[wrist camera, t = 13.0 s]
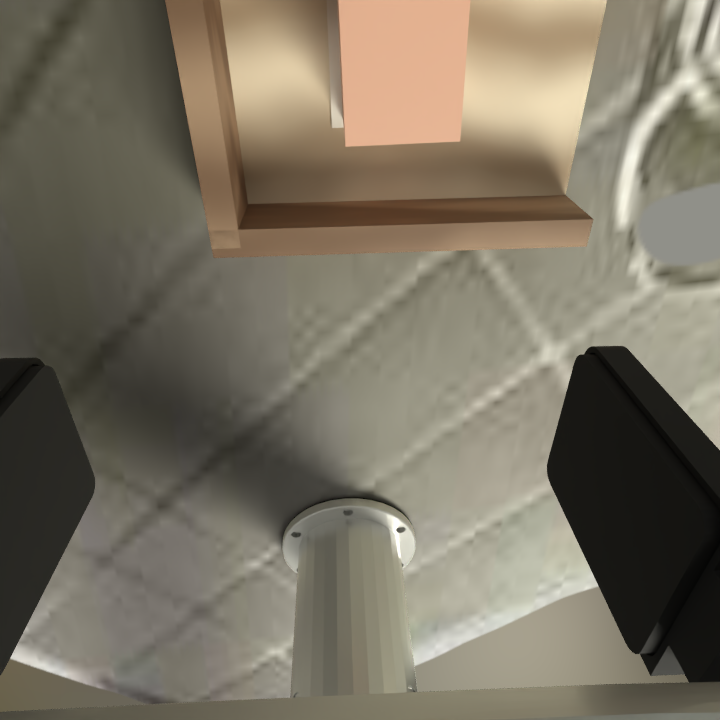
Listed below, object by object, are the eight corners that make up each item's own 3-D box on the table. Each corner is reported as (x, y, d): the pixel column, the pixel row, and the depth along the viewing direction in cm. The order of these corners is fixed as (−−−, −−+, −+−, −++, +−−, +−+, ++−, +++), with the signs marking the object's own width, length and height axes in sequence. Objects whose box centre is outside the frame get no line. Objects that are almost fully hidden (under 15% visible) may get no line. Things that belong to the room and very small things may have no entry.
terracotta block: (448, -113, 22) (480, -143, 18) (437, 115, 28) (460, 141, 23) (331, -109, 22) (332, -137, 17) (342, 119, 28) (345, 146, 23)
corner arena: (552, 222, 32) (584, 254, 28) (230, 231, 32) (215, 266, 28) (667, -339, 20) (755, -425, 16) (136, -340, 19) (83, -429, 15)
